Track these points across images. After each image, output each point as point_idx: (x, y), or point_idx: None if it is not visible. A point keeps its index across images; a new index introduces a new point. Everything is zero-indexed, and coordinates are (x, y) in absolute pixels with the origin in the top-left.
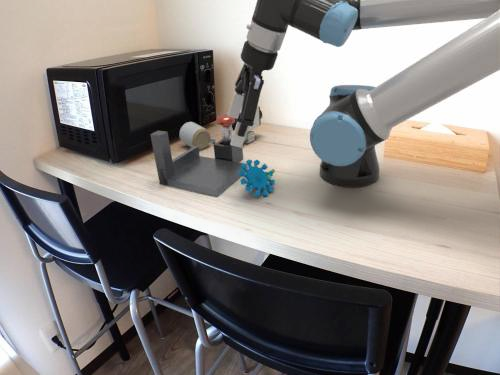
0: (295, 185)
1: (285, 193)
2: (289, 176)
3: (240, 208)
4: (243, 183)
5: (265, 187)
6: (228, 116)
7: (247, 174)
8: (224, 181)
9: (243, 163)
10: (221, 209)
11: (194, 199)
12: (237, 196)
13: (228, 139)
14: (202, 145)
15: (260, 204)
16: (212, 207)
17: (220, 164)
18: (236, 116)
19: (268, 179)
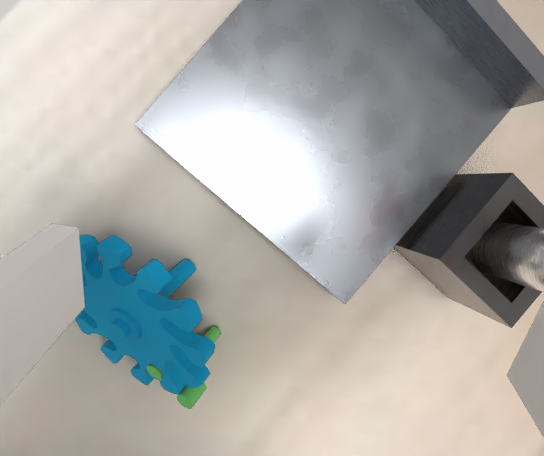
0: (144, 448)
1: (90, 397)
2: (228, 443)
3: (17, 203)
4: None
5: (101, 334)
6: (542, 308)
7: (111, 279)
8: (207, 174)
9: (153, 280)
10: (30, 127)
11: (150, 31)
12: (122, 211)
13: (506, 258)
14: None
15: None
16: (58, 94)
17: (385, 187)
18: (522, 377)
19: (139, 362)
